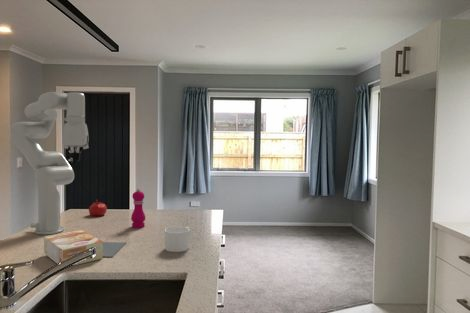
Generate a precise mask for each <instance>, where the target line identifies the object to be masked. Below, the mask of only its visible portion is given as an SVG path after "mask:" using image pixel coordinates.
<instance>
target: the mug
mask: <svg viewBox="0 0 470 313" xmlns="http://www.w3.org/2000/svg"><path fill="white" fill-rule="evenodd" d="M190 234H191V227H190V226H171V227H166V228H165V229H164V247H165V248H164V250H165V251H167V252H170V253H171V252H172V253H180V252H181V253H183V252H186V251H188V250H189V249H190Z"/></svg>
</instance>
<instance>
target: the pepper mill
mask: <svg viewBox="0 0 470 313" xmlns="http://www.w3.org/2000/svg"><path fill="white" fill-rule="evenodd" d="M132 199H133V201H132V202H133V205H134V207H133V208H134V209H133V210H132V214H131V218H130V220H131V222H132V223H131V227H132V228H135V229H140V228H144V227H145V220H146V214H145V212H144V209H143V204H144V199H145V193H144V192H143V191H141V189H140V187H138V188H137V189H136V191H134V192H133V193H132Z"/></svg>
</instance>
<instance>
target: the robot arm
mask: <svg viewBox="0 0 470 313" xmlns="http://www.w3.org/2000/svg"><path fill="white" fill-rule="evenodd" d="M58 110H63V111H65V110H66V117H64V118H63V121H64V125H63V131H62V145H63V148H64V149H65V150H69V151H70V152H71V160H72V162H73V163H75V162H76V163H77V162H80V161H81V153H82V151H83V150H86V149H89V148H90V147H89V141H90V140H89V129H88V125H87V123H86V97H85V94H84V93H82V92H76V91H75V92H74V91H72V92H71V91H70V92H60V91H48V92H44V93H42V94H40V95H39V97H38V100H37V101H34V102H32V103H29V104H28V105H26V107H24V115H25V116H26V117H27V119H29V120H32V121H18V122H15V123H13V124H12V125H11V127H10V136H11V141H12V143H13V144H14V145H15V147H17V149H18V150H19V151H20V152H21V153H22V154H23V156H24V158H25V159H26V161H27V162H28V165H30V168H32V169H33V170H35V171H36V172H35V175H34V177H35V183H36V187H37V188H36V189H37V216H38V217H37V218H38V220H37V222H31V223H30V228H35V229H34V234H37V235H44V236H45V235H46V236H47V235H56V234H60V233H63V232H64V227H63V226H61V196H60V192H59V190H58V189H57V186H65V185H69V184H71V183H73V181H74V180H75V172H74V169H73V167H72V166H71V165H70V163H69V162H68V160H67V159H66V157H65V156H64V154H63V153H61V152H59V151H56V150H54V151H53V150H52V151H50V150H48V151H47V150H44V149H43V148H42V146H41V145H40V144H39V143H38V142H36V141H35V140H33V139H46V138H47V137H49V135H50V134H51V131H52V130H53V127H54V126H55V122H56V120H57V118H58Z"/></svg>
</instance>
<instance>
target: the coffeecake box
mask: <svg viewBox="0 0 470 313" xmlns="http://www.w3.org/2000/svg"><path fill="white" fill-rule="evenodd" d="M43 240H44V241H43V244H44V245H43V253H44V254H45V255H46V256H47V257H48V258H49V259H51V260H52V261H53V262H55V264H57V265H58V263H60V262H62V261H64V260H66V259H68V258H70V257H72V256H73V255H76V254H78V253H80V252H83V251H85V250H87V249H89V248H91V247H96V256H95V257H94V258H93V259H86V260H83V261H81V262H78V263H77V264H74V265H73V266H78V265H81V264H86V263H91V262H93V261H97V260H102V259H103V258H104V257H103V241H102V240H100V239H99V238H97V237H96V236H93V235H91V234H90V233H88V232H86V231H84V230H83V229H79V230H73V231H69V232H68V231H67V232H60V233H55V234H50V235H46V236H45V235H44V237H43ZM73 266H72V267H73Z"/></svg>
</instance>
